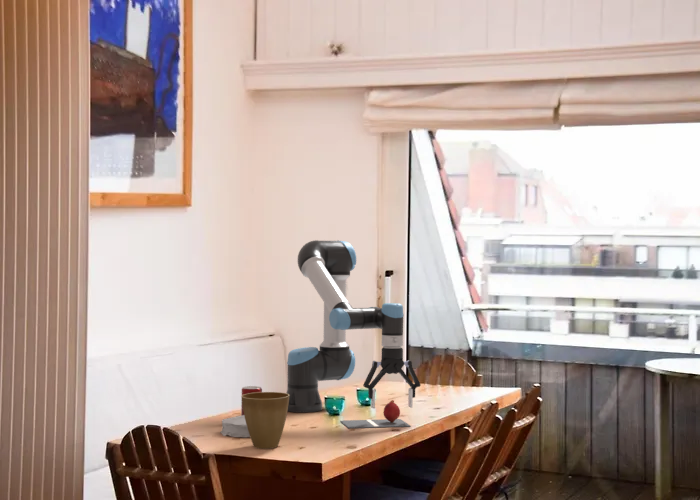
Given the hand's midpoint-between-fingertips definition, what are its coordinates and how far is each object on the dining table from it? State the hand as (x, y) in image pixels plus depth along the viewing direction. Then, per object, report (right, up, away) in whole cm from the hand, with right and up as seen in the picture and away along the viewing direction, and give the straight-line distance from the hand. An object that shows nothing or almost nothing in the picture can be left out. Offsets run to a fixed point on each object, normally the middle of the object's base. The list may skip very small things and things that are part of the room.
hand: (391, 407), depth 353 cm
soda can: (-50, -6, +3) cm, 50 cm away
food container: (-48, -6, -19) cm, 52 cm away
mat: (-6, -6, -1) cm, 8 cm away
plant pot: (-41, -6, -43) cm, 60 cm away
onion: (0, -6, 0) cm, 6 cm away
